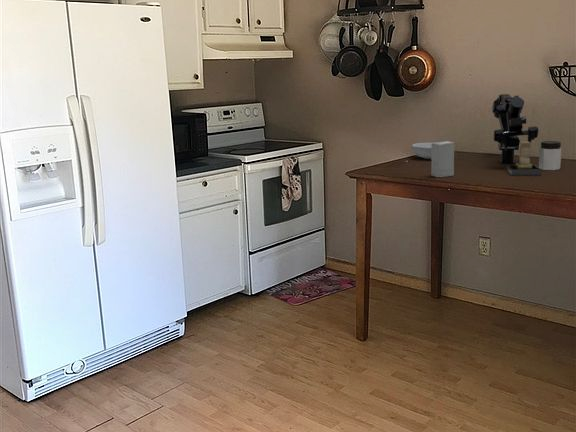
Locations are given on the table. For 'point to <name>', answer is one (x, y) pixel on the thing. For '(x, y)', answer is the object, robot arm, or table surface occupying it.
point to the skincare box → (442, 159)
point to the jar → (550, 155)
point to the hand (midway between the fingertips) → (517, 149)
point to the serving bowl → (423, 150)
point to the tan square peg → (524, 153)
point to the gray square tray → (523, 170)
